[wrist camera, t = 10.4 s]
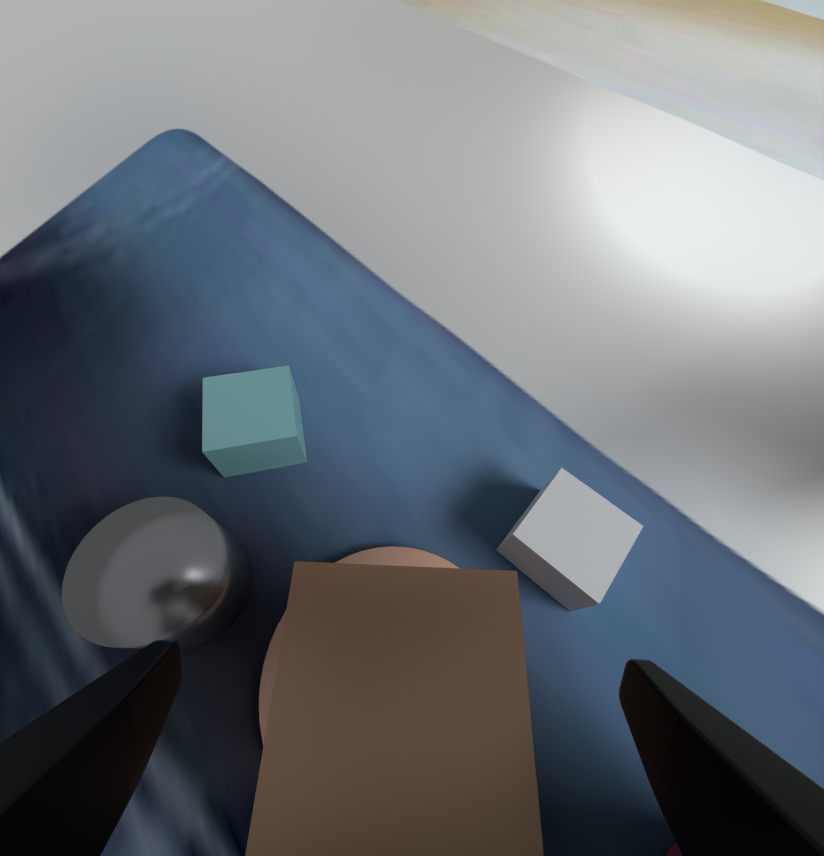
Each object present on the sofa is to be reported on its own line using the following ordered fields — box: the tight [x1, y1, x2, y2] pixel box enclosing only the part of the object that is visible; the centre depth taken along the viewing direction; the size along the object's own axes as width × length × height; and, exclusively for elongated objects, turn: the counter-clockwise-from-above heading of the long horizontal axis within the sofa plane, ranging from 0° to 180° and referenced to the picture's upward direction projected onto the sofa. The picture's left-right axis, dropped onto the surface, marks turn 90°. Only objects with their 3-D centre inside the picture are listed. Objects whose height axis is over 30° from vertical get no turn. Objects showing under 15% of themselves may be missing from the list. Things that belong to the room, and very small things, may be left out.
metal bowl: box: [62, 496, 252, 650], centre depth 16 cm, size 5×5×4 cm
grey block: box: [496, 468, 643, 611], centre depth 18 cm, size 4×4×3 cm
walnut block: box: [245, 561, 544, 856], centre depth 11 cm, size 4×4×10 cm
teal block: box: [202, 366, 307, 478], centre depth 20 cm, size 4×4×3 cm
